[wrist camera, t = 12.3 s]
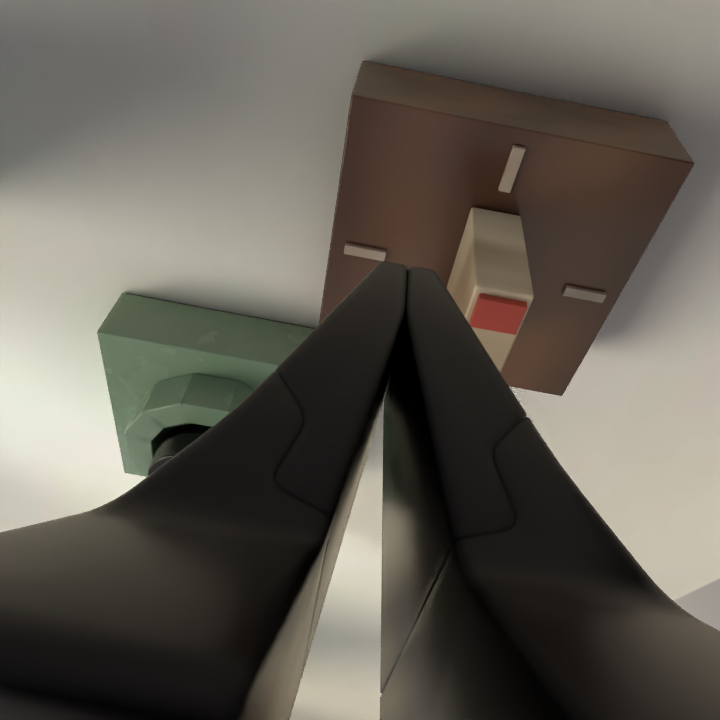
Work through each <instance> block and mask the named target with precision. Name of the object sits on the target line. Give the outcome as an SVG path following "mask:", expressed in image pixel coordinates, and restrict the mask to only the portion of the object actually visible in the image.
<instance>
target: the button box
mask: <svg viewBox="0 0 720 720" xmlns="http://www.w3.org/2000/svg"><path fill="white" fill-rule="evenodd" d="M313 330H314V329H313V328H307V327H302V326H297V325H291V324H286V323H281V322H275V321H270V320H265V319H259V318H254V317H249V316H243V315H238V314H233V313H227V312H222V311H217V310H211V309H206V308H201V307H195V306H190V305H185V304H179V303H174V302H169V301H163V300H158V299H152V298H147V297H142V296H136V295H131V294H126V293H122V294H121V296H120V297H119V299H118V300H117V302H116V303H115V305H114V307H113V308H112V310H111V311H110V313H109V314H108V316H107V317H106V319H105V321H104V322H103V324H102V325H101V327H100V328H99V330H98V332H97V333H98V338H99V343H100V349H101V354H102V359H103V364H104V369H105V374H106V379H107V384H108V390H109V395H110V400H111V405H112V410H113V415H114V420H115V425H116V430H117V436H118V441H119V446H120V451H121V456H122V461H123V466H124V471H125V473H129V474H134V475H140V476H146V477H148V469H149V467H150V464H151V462H152V460H153V457H154V455H155V453H156V451H157V448H158V446H159V444H160V441H161V439H162V437H163V436H164V435H165V433H167V432H168V431H169V430H171V429H172V428H174V427H177V426H180V425H185V424H199V425H204V426H210V427H213V426H214V425H215V424H216V423H217V422H219V421H220V420H221V419H222V418H224V417H225V416H226V415H227V414H229V413H230V412H231V411H232V410H233V409H235V408H236V407H237V406H238V405H239V404H240V403H241V402H242V401H243V400H244V399H245V398H246V397H247V396H248V395H250V394H251V393H252V392H253V391H254V390H255V389H256V388H257V387H258V386H259V385H260V384H261V383H262V382H263V381H264V380H265V379H266V378H267V377H268V376H269V375H270V374H271V373H272V372H275V369H276V368H277V367H278V366H279V365H280V364H281V363H282V362H283V361H284V360H285V359H286V358H287V357H288V356H289V355H290V354H291V352H292V351H293V350H294V349H295V348H296V347H297V346H298V345H299V344H300V343H301V342H302V341H303V340H304V339H305V338H306V337H307V336H308V335H309V334H310V333H311V332H312V331H313Z"/></svg>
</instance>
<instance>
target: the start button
mask: <svg viewBox="0 0 720 720" xmlns="http://www.w3.org/2000/svg"><path fill="white" fill-rule="evenodd" d="M210 428H211V427H210V426H204V425H199V424H185V425H180V426H177V427H174V428H172V429H171V430H169V431H168V432H167V433H165V435H164V436H163V437H162V439H161V441H160V444H159V446H158V448H157V451H156V453H155V455H154V457H153V460H152V462H151V464H150V467H149V469H148V476H149V475H151V474H152V473H153V472H154V471H156V470H157V469H158V468H160V467H161V466H162V465H164V464H165V463H166V462H167V461H169V460H170V459H171V458H173V457H174V456H175V455H176V454H178V453H179V452H180V451H182V450H183V449H184V448H186V447H187V446H188V445H189V444H191V443H192V442H193V441H195V440H196V439H197V438H199V437H200V436H201V435H202V434H204V433H205V432H206V431H208V430H209V429H210Z"/></svg>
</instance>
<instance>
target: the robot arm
mask: <svg viewBox="0 0 720 720" xmlns="http://www.w3.org/2000/svg"><path fill="white" fill-rule="evenodd" d="M384 395H385V399H384ZM383 399H384V425H383V512H382V598H381V685H380V692H381V694H382V695H381V697H380V720H720V631H719V630H717V629H715V628H713V627H711V626H709V625H707V624H705V623H704V622H702V621H700V620H698V619H697V618H695V617H694V616H692V615H691V614H689V613H688V612H686V611H685V610H684V609H682V608H681V607H680V606H679V605H677V604H676V603H675V602H674V601H673V600H671V599H670V598H669V597H668V596H667V595H666V594H665V593H664V592H663V591H662V590H661V589H660V588H659V587H658V586H657V585H656V584H655V583H654V581H653V580H652V579H651V578H650V577H649V576H648V575H647V573H646V572H645V571H644V570H643V569H642V567H641V566H640V565H639V564H638V562H637V561H636V560H635V559H634V557H633V556H632V555H631V554H630V552H629V551H628V550H627V549H626V547H625V546H624V545H623V544H622V542H621V541H620V540H619V539H618V537H617V536H616V535H615V534H614V532H613V531H612V530H611V529H610V528H609V526H608V525H607V524H606V523H605V521H604V520H603V519H602V518H601V516H600V515H599V514H598V513H597V511H596V510H595V509H594V508H593V506H592V505H591V504H590V503H589V501H588V500H587V499H586V498H585V496H584V495H583V494H582V492H581V491H580V490H579V489H578V487H577V486H576V485H575V483H574V482H573V481H572V479H571V478H570V477H569V475H568V474H567V473H566V472H565V470H564V469H563V468H562V466H561V465H560V464H559V462H558V461H557V459H556V458H555V456H554V455H553V453H552V452H551V450H550V449H549V447H548V446H547V444H546V443H545V441H544V440H543V439H542V437H541V436H540V434H539V432H538V431H537V429H536V428H535V426H534V425H533V423H532V421H531V420H530V418H528V417H526V412H525V411H524V409H523V408H522V406H521V405H520V403H519V401H518V400H517V398H516V397H515V395H514V393H513V392H512V390H511V389H510V387H509V386H508V384H507V382H506V381H505V379H504V378H503V376H502V375H501V373H500V371H499V370H498V368H497V367H496V365H495V364H494V362H493V360H492V359H491V357H490V356H489V354H488V353H487V351H486V349H485V348H484V346H483V345H482V343H481V342H480V340H479V338H478V337H477V335H476V334H475V332H474V331H473V329H472V327H471V326H470V324H469V323H468V321H467V320H466V318H465V316H464V315H463V313H462V312H461V310H460V309H459V307H458V305H457V304H456V302H455V301H454V299H453V298H452V296H451V294H450V293H449V291H448V290H447V288H446V287H445V285H444V283H443V282H442V280H441V279H440V277H439V276H438V274H437V273H436V272H435V271H434V270H431V269H426V268H420V267H414V266H411V267H409V268H408V270H407V267H406V266H405V265H403V264H398V263H392V262H387V261H382V262H380V263H379V264H378V265H377V266H376V267H375V268H374V269H373V270H372V271H371V272H370V273H369V274H368V275H367V276H366V277H365V278H364V279H363V280H362V281H361V282H360V283H359V284H358V285H357V286H356V287H355V288H354V289H353V290H352V291H351V292H350V293H349V294H348V295H347V296H346V297H345V298H344V299H343V300H342V301H341V302H340V303H339V304H338V305H337V306H336V307H335V309H334V310H333V311H332V312H331V313H330V314H329V315H328V316H327V317H326V318H325V319H324V320H323V321H322V322H321V323H320V324H319V325H318V326H317V327H316V328H315V329H314V330H313V331H312V332H311V333H310V334H309V335H308V336H307V337H306V338H305V339H304V340H303V341H302V342H301V343H300V344H299V345H298V346H297V347H296V348H295V349H294V350H293V351H292V352H291V354H290V355H289V356H288V357H287V358H286V359H285V360H284V361H283V362H282V363H281V364H280V365H279V366H278V367H277V368H276V369H275V372H272V373H271V374H270V375H269V376H268V377H267V378H266V379H265V380H264V381H263V382H262V383H261V384H260V385H259V386H258V387H257V388H256V389H255V390H254V391H253V392H252V393H251V394H250V395H248V396H247V397H246V398H245V399H244V400H243V401H242V402H241V403H240V404H239V405H238V406H237V407H236V408H235V409H233V410H232V411H231V412H230V413H229V414H227V415H226V416H225V417H224V418H222V419H221V420H220V421H219V422H217V423H216V424H215V425H214V426H213V427H211V428H210V429H209V430H208V431H206V432H205V433H204V434H202V435H201V436H200V437H199V438H197V439H196V440H195V441H193V442H192V443H191V444H189V445H188V446H187V447H186V448H184V449H183V450H182V451H180V452H179V453H178V454H176V455H175V456H174V457H173V458H171V459H170V460H169V461H167V462H166V463H165V464H164V465H162V466H161V467H160V468H158V469H157V470H156V471H154V472H153V473H152V474H151V475H149V476H148V477H147V478H145V479H144V480H143V481H141V482H140V483H139V484H137V485H136V486H135V487H133V488H132V489H131V490H129V491H128V492H126V493H125V494H123V495H121V496H120V497H118V498H116V499H115V500H113V501H111V502H109V503H107V504H105V505H103V506H101V507H98V508H96V509H93V510H91V511H88V512H84V513H81V514H77V515H73V516H68V517H64V518H60V519H56V520H51V521H47V522H43V523H39V524H34V525H30V526H26V527H22V528H18V529H13V530H9V531H5V532H1V533H0V720H289V719H290V715H291V712H292V708H293V705H294V702H295V698H296V695H297V692H298V688H299V685H300V680H301V678H302V675H303V671H304V668H305V665H306V661H307V658H308V654H309V651H310V648H311V644H312V641H313V638H314V634H315V631H316V627H317V624H318V621H319V617H320V614H321V611H322V607H323V604H324V600H325V597H326V594H327V590H328V587H329V584H330V580H331V577H332V573H333V570H334V567H335V563H336V560H337V557H338V553H339V550H340V546H341V543H342V540H343V536H344V533H345V530H346V526H347V523H348V519H349V516H350V513H351V509H352V506H353V503H354V499H355V496H356V492H357V489H358V486H359V482H360V479H361V476H362V472H363V469H364V466H365V462H366V459H367V455H368V452H369V449H370V445H371V442H372V439H373V435H374V432H375V428H376V425H377V422H378V418H379V415H380V411H381V407H382V403H383Z"/></svg>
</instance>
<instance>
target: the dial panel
mask: <svg viewBox="0 0 720 720" xmlns="http://www.w3.org/2000/svg"><path fill="white" fill-rule="evenodd" d="M693 165H694V162H693V160H692V159H691V157H690V155H689V154H688V152H687V151H686V149H685V148H684V146H683V145H682V143H681V142H680V140H679V138H678V137H677V135H676V134H675V132H674V131H673V129H672V128H671V126H670V125H669V123H668V122H667V121H662V120H657V119H652V118H647V117H642V116H637V115H632V114H627V113H622V112H617V111H612V110H607V109H602V108H597V107H592V106H587V105H582V104H577V103H572V102H567V101H562V100H557V99H552V98H547V97H542V96H537V95H532V94H527V93H522V92H517V91H512V90H507V89H502V88H497V87H492V86H487V85H482V84H477V83H472V82H467V81H462V80H457V79H452V78H447V77H442V76H437V75H432V74H427V73H422V72H417V71H412V70H407V69H402V68H397V67H392V66H387V65H382V64H377V63H372V62H368V61H362V64H361V67H360V70H359V73H358V76H357V79H356V83H355V86H354V89H353V92H352V95H351V102H350V109H349V116H348V123H347V130H346V137H345V144H344V151H343V158H342V165H341V172H340V180H339V187H338V194H337V201H336V208H335V215H334V222H333V229H332V236H331V243H330V250H329V257H328V264H327V271H326V279H325V286H324V293H323V300H322V307H321V314H320V321H319V324H320V323H321V322H322V321H323V320H324V319H325V318H326V317H327V316H328V315H329V314H330V313H331V312H332V311H333V310H334V309H335V307H336V306H337V305H338V304H339V303H340V302H341V301H342V300H343V299H344V298H345V297H346V296H347V295H348V294H349V293H350V292H351V291H352V290H353V289H354V288H355V287H356V286H357V285H358V284H359V283H360V282H361V281H362V280H363V279H364V278H365V277H366V276H367V275H368V274H369V273H370V272H371V271H372V270H373V269H374V268H375V267H376V266H377V265H378V264H379V263H380V262H382V261H387V262H392V263H398V264H403V265H405V266H406V267H407V270H408V268H409V267H411V266H414V267H420V268H426V269H431V270H434V271H435V272H436V273H437V274H438V276H439V277H440V279H441V280H442V282H443V283H444V285H445V287H446V288H447V285H448V281H449V278H450V275H451V272H452V268H453V265H454V262H455V259H456V255H457V252H458V249H459V246H460V242H461V239H462V236H463V233H464V229H465V226H466V223H467V220H468V217H469V213H470V210H471V208H472V207H475V208H480V209H485V210H490V211H496V212H501V213H506V214H512V215H517V216H520V217H521V222H522V228H523V234H524V240H525V246H526V252H527V258H528V264H529V270H530V276H531V282H532V288H533V294H534V298H533V301H532V303H531V305H530V307H529V310H528V312H527V314H526V316H525V319H524V321H523V323H522V326H521V328H520V330H519V332H518V335H517V337H516V339H515V342H514V344H513V346H512V348H511V351H510V353H509V355H508V357H507V360H506V362H505V364H504V367H503V369H502V371H501V375H502V376H503V378H504V379H505V381H506V382H507V384H508V386H511V387H516V388H522V389H527V390H533V391H538V392H543V393H549V394H554V395H559V396H562V395H563V393H564V392H565V390H566V388H567V386H568V385H569V383H570V381H571V379H572V378H573V376H574V374H575V372H576V371H577V369H578V367H579V365H580V364H581V362H582V360H583V358H584V357H585V355H586V353H587V351H588V350H589V348H590V346H591V344H592V342H593V341H594V339H595V337H596V335H597V334H598V332H599V330H600V328H601V327H602V325H603V323H604V321H605V320H606V318H607V316H608V314H609V313H610V311H611V309H612V307H613V306H614V304H615V302H616V300H617V299H618V297H619V295H620V293H621V292H622V290H623V288H624V286H625V285H626V283H627V281H628V279H629V278H630V276H631V274H632V272H633V271H634V269H635V267H636V265H637V264H638V262H639V260H640V258H641V257H642V255H643V253H644V251H645V250H646V248H647V246H648V244H649V242H650V241H651V239H652V237H653V235H654V234H655V232H656V230H657V228H658V227H659V225H660V223H661V221H662V220H663V218H664V216H665V214H666V213H667V211H668V209H669V207H670V206H671V204H672V202H673V200H674V199H675V197H676V195H677V193H678V192H679V190H680V188H681V186H682V185H683V183H684V181H685V179H686V178H687V176H688V174H689V172H690V171H691V169H692V167H693Z"/></svg>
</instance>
